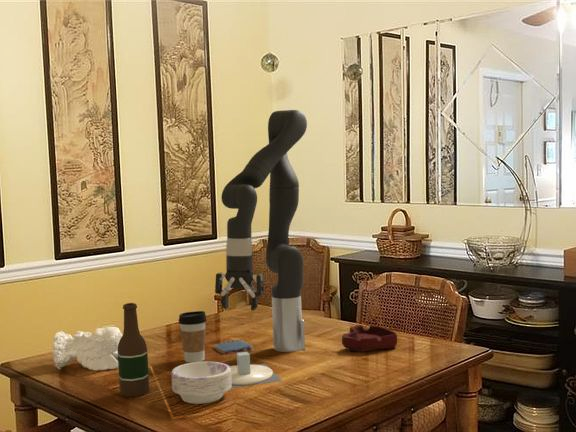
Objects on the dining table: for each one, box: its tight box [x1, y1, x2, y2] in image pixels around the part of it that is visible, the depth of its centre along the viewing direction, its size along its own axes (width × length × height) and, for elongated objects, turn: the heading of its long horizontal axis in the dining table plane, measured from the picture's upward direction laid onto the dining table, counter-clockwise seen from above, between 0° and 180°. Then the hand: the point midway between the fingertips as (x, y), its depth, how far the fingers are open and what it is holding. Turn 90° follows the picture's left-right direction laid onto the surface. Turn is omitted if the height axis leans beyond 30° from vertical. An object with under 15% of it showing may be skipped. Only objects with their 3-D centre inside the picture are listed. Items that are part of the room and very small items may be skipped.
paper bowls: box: [171, 361, 232, 405], centre depth 181 cm, size 15×15×8 cm
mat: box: [230, 363, 283, 389], centre depth 197 cm, size 17×17×1 cm
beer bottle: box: [117, 302, 150, 398], centre depth 187 cm, size 8×8×24 cm
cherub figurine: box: [51, 326, 123, 372], centre depth 215 cm, size 13×12×20 cm
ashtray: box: [341, 324, 398, 353], centre depth 223 cm, size 18×16×5 cm
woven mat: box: [212, 339, 255, 356], centre depth 227 cm, size 10×11×2 cm
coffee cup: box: [178, 310, 207, 363], centre depth 214 cm, size 8×8×15 cm
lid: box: [229, 351, 274, 386], centre depth 197 cm, size 16×16×6 cm
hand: (239, 309), depth 205 cm, fingers open, 8 cm apart
